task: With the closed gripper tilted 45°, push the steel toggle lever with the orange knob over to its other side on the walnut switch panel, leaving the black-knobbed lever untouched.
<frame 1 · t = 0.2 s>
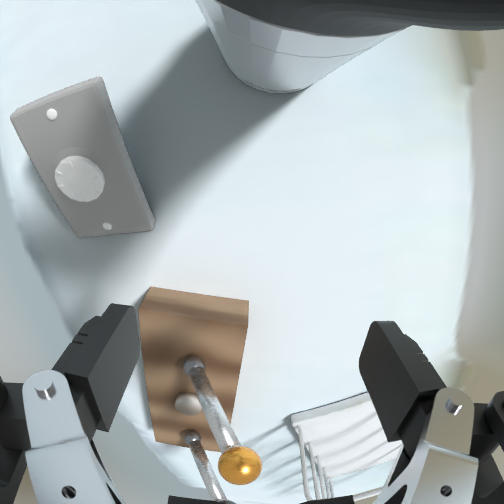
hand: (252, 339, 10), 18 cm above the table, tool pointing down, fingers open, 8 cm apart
switch panel: (194, 375, 35), on the table
light switch: (105, 163, 25), on the table
file sorter: (360, 433, 42), on the table
lever black: (208, 475, 28), point 10 cm above the table, hinge at -25.0°
lever orange: (214, 413, 23), point 10 cm above the table, hinge at -25.0°
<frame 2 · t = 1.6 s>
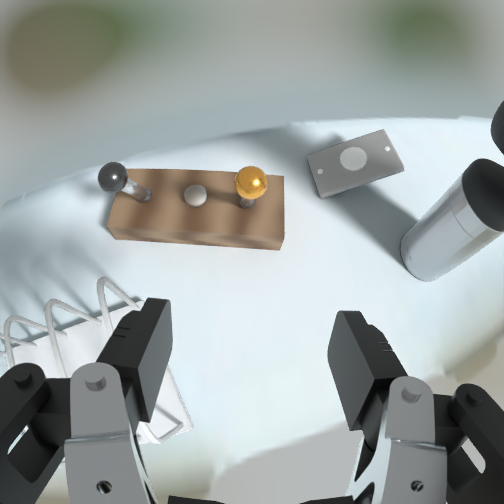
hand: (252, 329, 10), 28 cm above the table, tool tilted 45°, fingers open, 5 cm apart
switch panel: (198, 213, 44), on the table
light switch: (346, 177, 50), on the table
file sorter: (87, 391, 33), on the table
lever black: (130, 187, 33), point 10 cm above the table, hinge at -25.0°
lever orange: (249, 192, 34), point 10 cm above the table, hinge at -25.0°
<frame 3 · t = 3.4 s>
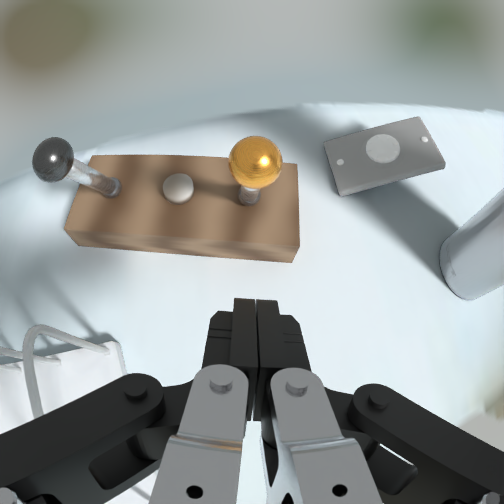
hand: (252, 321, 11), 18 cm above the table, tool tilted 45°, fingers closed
switch panel: (183, 213, 33), on the table
light switch: (372, 172, 39), on the table
file sorter: (45, 438, 22), on the table
lever black: (85, 175, 22), point 10 cm above the table, hinge at -25.0°
lever orange: (251, 181, 23), point 10 cm above the table, hinge at -25.0°
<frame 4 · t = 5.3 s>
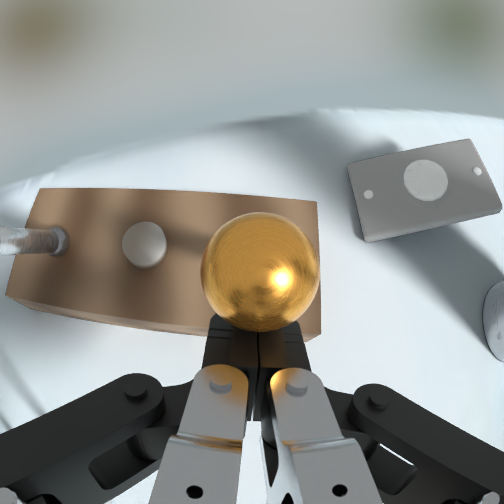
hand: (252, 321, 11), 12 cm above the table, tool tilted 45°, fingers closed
switch panel: (158, 269, 24), on the table
light switch: (406, 207, 29), on the table
lever black: (5, 241, 13), point 10 cm above the table, hinge at -25.0°
lever orange: (251, 262, 14), point 10 cm above the table, hinge at -25.0°, touching gripper
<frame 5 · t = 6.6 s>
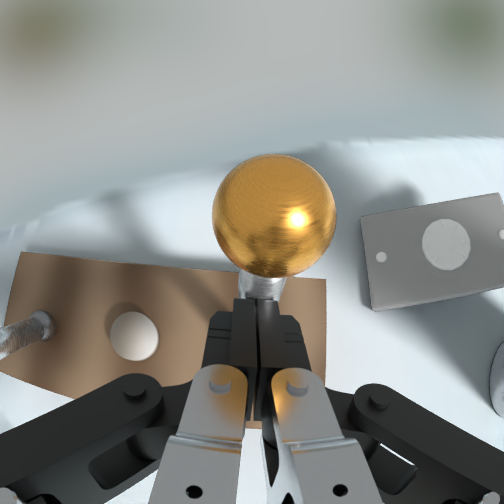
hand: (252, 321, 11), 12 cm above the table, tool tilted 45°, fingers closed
switch panel: (153, 344, 22), on the table
light switch: (421, 265, 26), on the table
lever orange: (257, 302, 12), point 11 cm above the table, hinge at 10.9°, touching gripper
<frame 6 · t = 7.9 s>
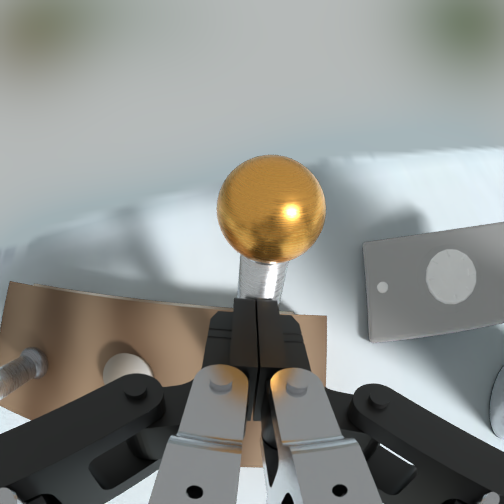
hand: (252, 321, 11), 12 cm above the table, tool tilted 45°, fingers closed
switch panel: (148, 378, 20), on the table
light switch: (424, 294, 25), on the table
lever orange: (255, 321, 12), point 10 cm above the table, hinge at 27.0°, touching gripper
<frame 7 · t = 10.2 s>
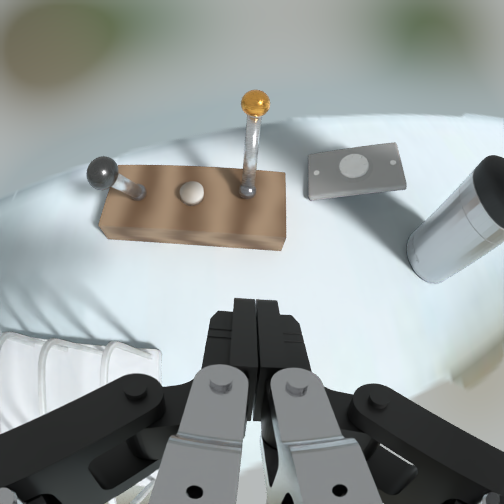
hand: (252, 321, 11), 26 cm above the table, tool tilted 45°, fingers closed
switch panel: (195, 212, 42), on the table
light switch: (346, 185, 46), on the table
file sorter: (72, 408, 30), on the table
lever black: (122, 183, 31), point 10 cm above the table, hinge at -25.0°
lever orange: (251, 147, 34), point 10 cm above the table, hinge at 27.0°
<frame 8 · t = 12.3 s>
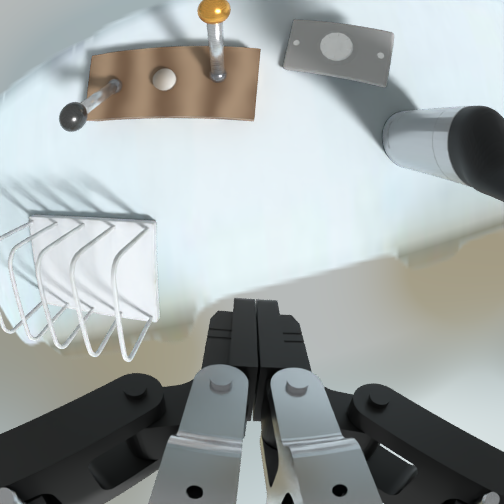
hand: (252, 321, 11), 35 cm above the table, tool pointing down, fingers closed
switch panel: (172, 85, 38), on the table
light switch: (330, 56, 37), on the table
file sorter: (92, 264, 48), on the table
lever black: (95, 99, 29), point 10 cm above the table, hinge at -25.0°
lever orange: (216, 44, 28), point 10 cm above the table, hinge at 27.0°
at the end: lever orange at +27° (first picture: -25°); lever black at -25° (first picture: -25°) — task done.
